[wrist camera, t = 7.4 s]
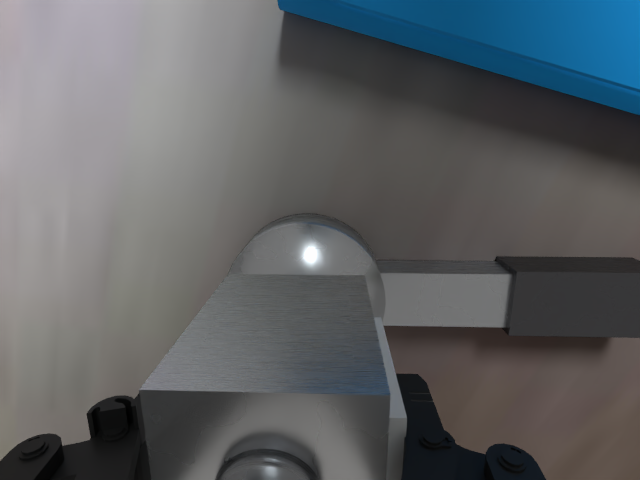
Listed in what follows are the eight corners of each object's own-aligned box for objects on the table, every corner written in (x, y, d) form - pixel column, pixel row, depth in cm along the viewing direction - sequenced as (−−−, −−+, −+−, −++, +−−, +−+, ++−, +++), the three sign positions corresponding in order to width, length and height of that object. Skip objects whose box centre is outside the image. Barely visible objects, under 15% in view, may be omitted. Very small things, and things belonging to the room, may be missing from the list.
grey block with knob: (228, 273, 17) (126, 406, 9) (365, 275, 17) (394, 412, 9) (236, 391, 19) (155, 600, 10) (361, 394, 19) (383, 610, 10)
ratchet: (233, 213, 24) (192, 243, 17) (640, 214, 23) (767, 247, 16) (240, 346, 26) (208, 419, 19) (612, 353, 25) (713, 431, 19)
